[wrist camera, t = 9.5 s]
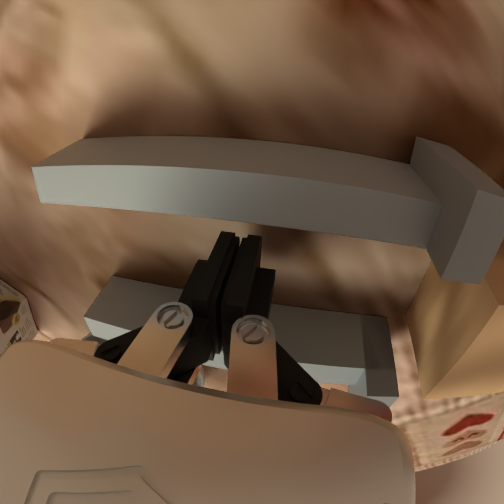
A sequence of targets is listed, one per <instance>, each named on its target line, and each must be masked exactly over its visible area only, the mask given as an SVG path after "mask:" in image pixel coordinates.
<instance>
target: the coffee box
mask: <svg viewBox="0 0 504 504" xmlns="http://www.w3.org/2000/svg"><path fill="white" fill-rule="evenodd" d="M37 333H38V331H37V328H36V325H35V322H34V319H33V317H32V313H31V311H30V307H29V304H28V301H27V298H26V297H25V296H24V295H22V294H21V293H19V292H18V291H17V290H15V289H14V288H12V287H11V286H9V285H8V284H7V283H5V282H4V281H2V280H1V279H0V356H1V354H2V353H3V352H4V351H5V350H6V349H7V348H8V347H9V346H10V345H11V344H13V343H15V342H19V341H25V340H33V339H34V338H35V336H36V335H37Z"/></svg>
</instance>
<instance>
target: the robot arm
mask: <svg viewBox="0 0 504 504" xmlns="http://www.w3.org/2000/svg"><path fill="white" fill-rule="evenodd" d="M239 244H240V238H239V237H236V236H235V233H232V232H224V231H221V233H220V235H219V237H218V239H217V241H216V244H215V246H214V248H213V250H212V252H211V254H210V257H209V259H208V261H207V260H200V259H199V260H198V261H197V263H196V265H195V267H194V269H193V271H192V273H191V275H190V277H189V279H188V281H187V283H186V285H185V287H184V290H183V292H182V294H181V296H180V298H179V300H178V302H169V303H165V304H163V305H161V306H160V307H158V308H157V309H156V310H155V312H154V313H153V314H152V316H151V317H150V318H149V320H148V321H147V323H146V324H145V325H144V326H142V327H139V328H137V329H134V330H132V331H130V332H127V333H125V334H122V335H120V336H117V337H115V338H112V339H110V340H108V341H106V342H104V343H102V344H101V345H100V344H98V342H94V341H83V340H73V339H63V338H56V339H54V340H51V341H50V342H47V341H39V340H25V341H19V342H15V343H13V344H11V345H10V346H9V347H8V348H7V349H6V350H5V351H4V352H3V353H2V354H1V356H0V504H415V470H414V461H413V454H412V450H411V446H410V443H409V440H408V438H407V437H406V435H405V433H404V432H403V431H402V430H401V429H400V428H398V427H397V426H396V425H394V424H392V423H391V421H392V413H391V410H390V408H389V407H388V406H387V405H386V404H385V403H383V402H381V401H378V400H374V399H370V398H366V397H363V396H359V395H355V394H351V393H348V392H344V391H340V390H337V389H333V388H331V389H330V390H328V389H325V388H321V387H320V386H319V384H318V383H317V382H316V381H315V380H314V379H313V378H312V377H311V376H310V375H309V374H308V373H307V372H306V371H305V370H304V369H303V368H302V367H301V366H300V365H299V364H298V363H297V362H296V361H295V360H294V359H293V358H292V357H291V356H290V355H289V354H288V353H287V352H286V350H285V349H284V348H283V347H282V346H281V345H280V344H279V343H278V342H277V341H276V340H275V329H274V326H273V324H272V323H271V322H270V321H269V315H270V309H271V303H272V296H273V289H274V281H275V272H276V270H273V269H265V268H260V259H261V245H262V236H256V235H248V237H247V238H244V237H243V238H242V241H241V244H240V247H239ZM222 346H223V355H224V365H225V366H226V368H227V369H228V370H229V371H228V385H227V392H224V391H219V390H214V389H209V388H204V387H200V386H195V385H193V383H194V381H195V379H196V377H197V375H198V373H199V371H200V368H201V365H202V364H204V363H206V362H208V360H211V361H213V360H214V356H215V354H220V352H221V349H222Z"/></svg>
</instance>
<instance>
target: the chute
mask: <svg viewBox="0 0 504 504" xmlns="http://www.w3.org/2000/svg"><path fill="white" fill-rule="evenodd" d="M32 171H33V175H34V180H35V184H36V188H37V192H38V195H39V199H40V203H52V204H66V205H79V206H91V207H103V208H114V209H125V210H136V211H146V212H156V213H166V214H176V215H185V216H194V217H203V218H212V219H221V220H229V221H238V222H246V223H254V224H262V225H270V226H278V227H285V228H293V229H300V230H308V231H315V232H322V233H329V234H336V235H343V236H350V237H356V238H363V239H370V240H376V241H383V242H389V243H395V244H402V245H408V246H414V247H420V248H426V249H427V251H428V253H429V255H430V257H431V259H432V262H433V264H434V266H435V268H436V270H437V272H438V275H439V277H440V279H443V280H451V281H458V282H466V283H473V284H481V282H482V280H483V278H484V276H485V275H486V273H487V271H488V269H489V267H490V265H491V263H492V261H493V259H494V257H495V255H496V253H497V251H498V249H499V247H500V245H501V243H502V241H503V238H504V189H502V188H501V187H500V186H499V185H498V184H497V183H496V182H495V181H493V180H492V179H491V178H490V177H489V176H488V175H486V174H485V173H484V172H483V171H482V170H480V169H479V168H478V167H477V166H475V165H474V164H473V163H472V162H470V161H469V160H468V159H466V158H465V157H464V156H463V155H461V154H460V153H459V152H457V151H456V150H454V149H453V148H452V147H450V146H448V145H445V144H441V143H438V142H435V141H431V140H428V139H424V138H421V137H417V136H416V139H415V143H414V148H413V152H412V157H411V161H410V164H405V163H401V162H397V161H392V160H387V159H383V158H378V157H373V156H368V155H362V154H357V153H351V152H345V151H339V150H333V149H327V148H320V147H313V146H306V145H298V144H290V143H281V142H271V141H261V140H249V139H236V138H220V137H198V136H125V137H103V138H88V139H81V140H79V141H77V142H75V143H73V144H71V145H69V146H67V147H66V148H64V149H62V150H60V151H58V152H57V153H55V154H53V155H51V156H49V157H48V158H46V159H44V160H43V161H41V162H39V163H38V164H36V165H34V166H33V167H32ZM183 290H184V289H179V288H173V287H168V286H162V285H157V284H152V283H146V282H141V281H136V280H131V279H126V278H121V277H116V276H112V277H111V278H110V280H109V281H108V282H107V284H106V285H105V287H104V288H103V289H102V291H101V292H100V294H99V295H98V296H97V298H96V299H95V301H94V302H93V304H92V305H91V306H90V308H89V309H88V311H87V312H86V314H85V315H84V319H85V321H86V323H87V325H88V327H89V329H90V331H91V333H92V335H93V336H96V337H99V338H102V339H106V340H110V339H112V338H115V337H117V336H120V335H122V334H125V333H127V332H130V331H132V330H134V329H137V328H139V327H142V326H144V325H145V324H146V323H147V321H148V320H149V318H150V317H151V316H152V314H153V313H154V312H155V310H156V309H157V308H158V307H160V306H161V305H163V304H165V303H169V302H178V300H179V298H180V296H181V294H182V292H183ZM269 321H270V322H271V323H272V324H273V326H274V329H275V340H276V341H277V342H278V343H279V344H280V345H281V346H282V347H283V348H284V349H285V350H286V352H287V353H288V354H289V355H290V356H291V357H292V358H293V359H294V360H295V361H296V362H297V363H298V364H299V365H300V366H301V367H302V368H303V369H304V370H305V371H306V372H307V373H308V374H309V375H310V376H311V377H312V378H313V379H314V380H315V381H316V382H320V383H332V384H345V385H348V393H351V394H355V395H359V396H363V397H366V398H370V399H374V400H378V401H381V402H383V403H385V404H386V405H387V406H388V407H390V406H391V405H392V404H393V403H394V402H395V401H396V400H397V398H398V397H399V392H398V384H397V376H396V369H395V362H394V356H393V349H392V343H391V338H390V332H389V326H388V321H387V317H382V316H372V315H362V314H352V313H343V312H334V311H326V310H318V309H310V308H302V307H294V306H287V305H279V304H272V303H271V309H270V315H269ZM202 365H206V366H211V367H216V368H221V369H226V370H228V369H227V368H226V366H225V365H224V355H223V346H222V349H221V352H220V354H215V356H214V360H213V361H211V360H208V362H206V363H204V364H202Z"/></svg>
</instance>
